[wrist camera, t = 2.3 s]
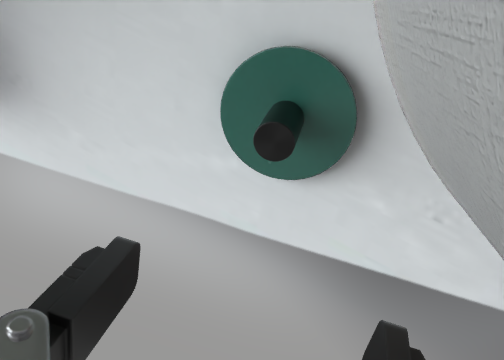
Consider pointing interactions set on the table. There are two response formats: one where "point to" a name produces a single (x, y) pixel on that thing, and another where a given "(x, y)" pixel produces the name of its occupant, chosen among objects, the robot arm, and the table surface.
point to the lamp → (453, 95)
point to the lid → (288, 113)
